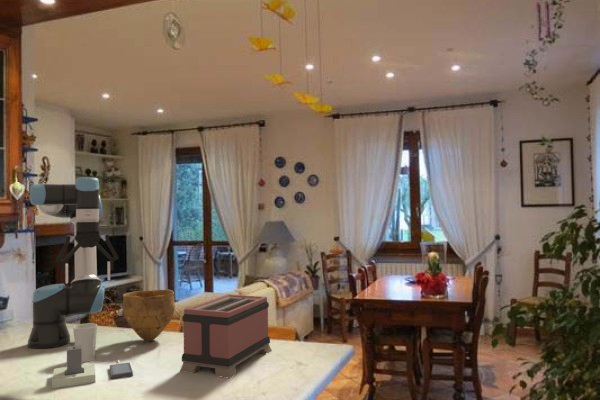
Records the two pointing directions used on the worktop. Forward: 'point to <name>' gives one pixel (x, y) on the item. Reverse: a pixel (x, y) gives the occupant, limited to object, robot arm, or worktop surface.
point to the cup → (86, 340)
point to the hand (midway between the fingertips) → (88, 281)
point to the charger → (74, 360)
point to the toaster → (225, 333)
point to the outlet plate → (73, 376)
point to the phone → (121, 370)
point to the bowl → (148, 311)
